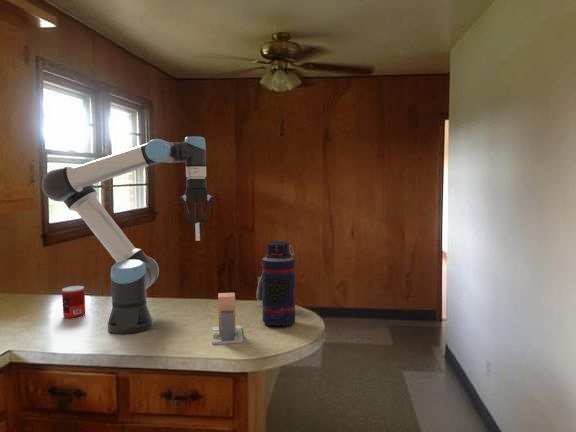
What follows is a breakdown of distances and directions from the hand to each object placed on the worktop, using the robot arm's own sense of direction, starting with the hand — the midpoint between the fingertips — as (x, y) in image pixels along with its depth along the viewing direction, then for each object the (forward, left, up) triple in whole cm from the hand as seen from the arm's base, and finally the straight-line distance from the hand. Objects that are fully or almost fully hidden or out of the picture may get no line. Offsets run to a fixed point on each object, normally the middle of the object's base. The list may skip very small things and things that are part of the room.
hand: (197, 240), depth 177 cm
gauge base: (+10, -25, -29) cm, 40 cm away
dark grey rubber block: (+10, -31, -29) cm, 44 cm away
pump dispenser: (+28, +8, -30) cm, 42 cm away
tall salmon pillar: (+10, -25, -28) cm, 39 cm away
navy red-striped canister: (+29, -14, -30) cm, 44 cm away
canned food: (-48, +8, -30) cm, 57 cm away
